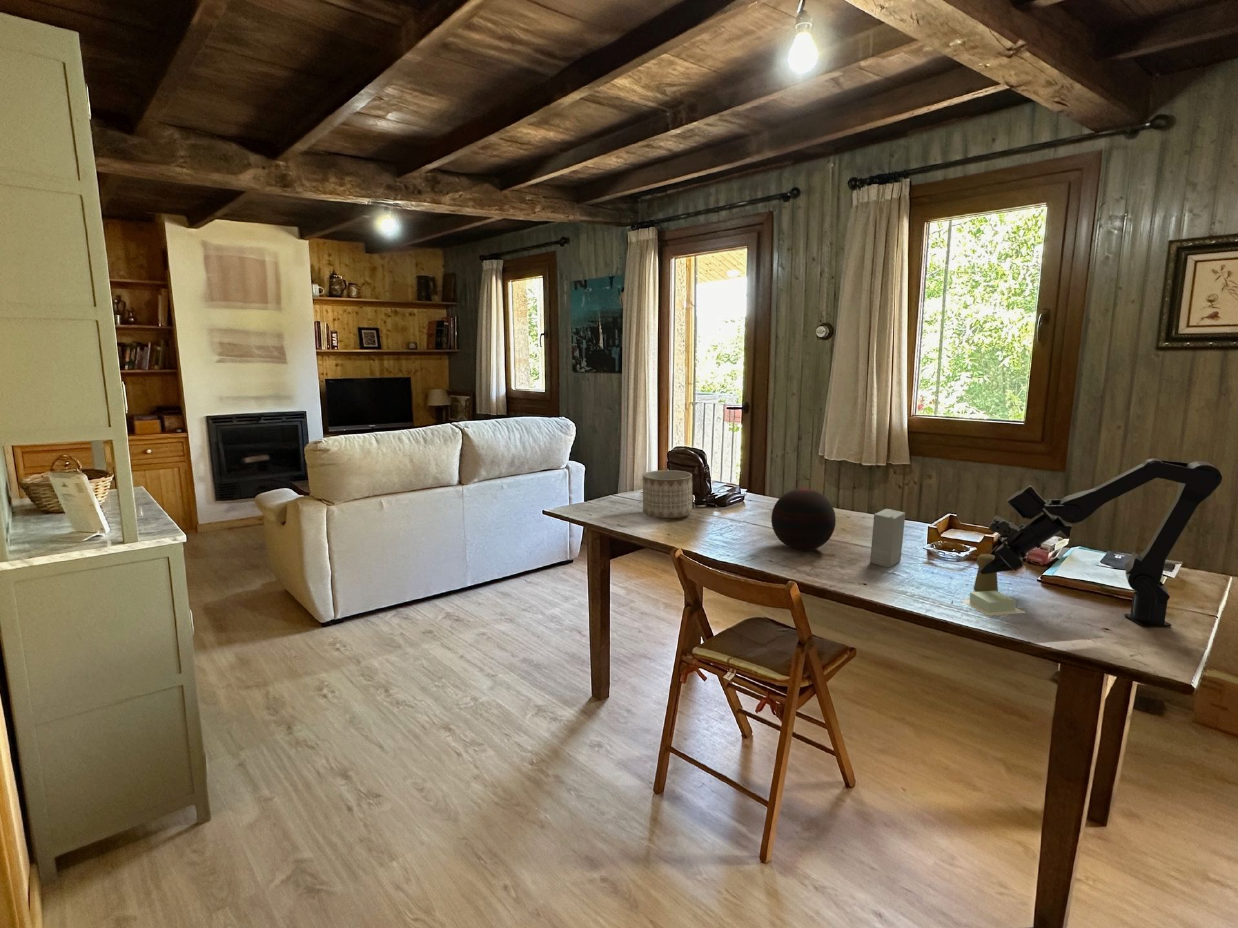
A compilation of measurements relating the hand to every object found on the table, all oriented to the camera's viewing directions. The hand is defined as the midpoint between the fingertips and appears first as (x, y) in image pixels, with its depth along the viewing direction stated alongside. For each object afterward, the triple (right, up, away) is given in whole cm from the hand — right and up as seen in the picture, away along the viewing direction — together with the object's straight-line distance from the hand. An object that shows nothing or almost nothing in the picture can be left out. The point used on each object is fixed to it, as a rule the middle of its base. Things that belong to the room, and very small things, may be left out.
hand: (982, 567), depth 174 cm
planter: (-76, +7, +88) cm, 117 cm away
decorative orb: (-36, -1, +42) cm, 55 cm away
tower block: (-3, -8, -10) cm, 13 cm away
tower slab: (-3, -9, -10) cm, 14 cm away
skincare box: (-14, -3, +28) cm, 31 cm away
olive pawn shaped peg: (+1, -8, +1) cm, 8 cm away
